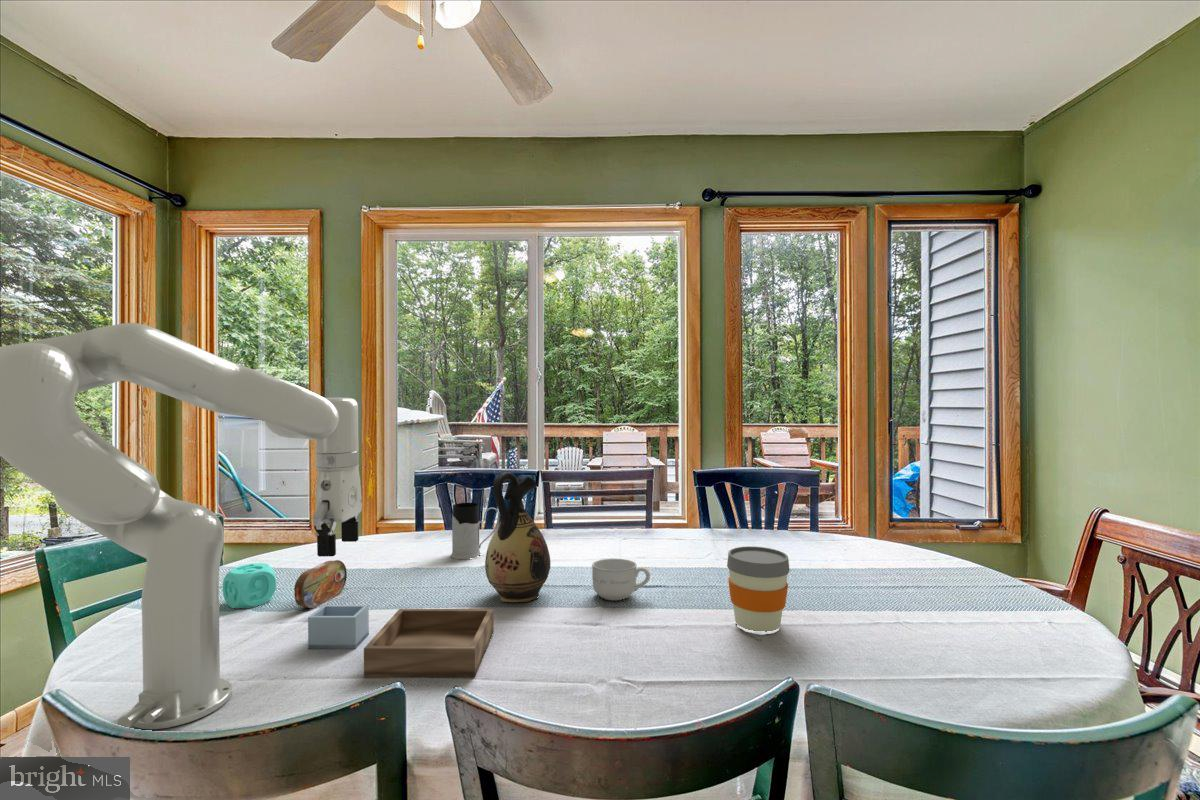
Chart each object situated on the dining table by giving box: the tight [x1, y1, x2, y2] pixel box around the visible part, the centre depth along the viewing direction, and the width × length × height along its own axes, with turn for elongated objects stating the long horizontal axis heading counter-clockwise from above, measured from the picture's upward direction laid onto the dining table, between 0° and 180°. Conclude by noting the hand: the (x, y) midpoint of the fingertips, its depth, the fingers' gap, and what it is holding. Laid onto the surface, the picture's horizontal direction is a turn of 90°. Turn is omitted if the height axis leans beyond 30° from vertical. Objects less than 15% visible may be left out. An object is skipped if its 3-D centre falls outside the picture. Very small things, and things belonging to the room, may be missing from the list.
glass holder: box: [450, 502, 500, 560], centre depth 165 cm, size 9×14×15 cm, turn 107°
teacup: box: [591, 558, 651, 601], centre depth 131 cm, size 14×11×8 cm
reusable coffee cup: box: [726, 546, 791, 632], centre depth 115 cm, size 13×12×15 cm
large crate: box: [363, 608, 495, 678], centre depth 103 cm, size 17×19×5 cm
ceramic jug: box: [484, 471, 551, 603], centre depth 131 cm, size 17×15×30 cm
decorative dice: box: [222, 562, 277, 609], centre depth 128 cm, size 8×8×8 cm
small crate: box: [307, 604, 370, 650], centre depth 108 cm, size 6×9×6 cm, turn 90°
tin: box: [293, 559, 348, 609], centre depth 129 cm, size 15×3×8 cm, turn 168°
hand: (338, 548), depth 108 cm, fingers open, 9 cm apart
